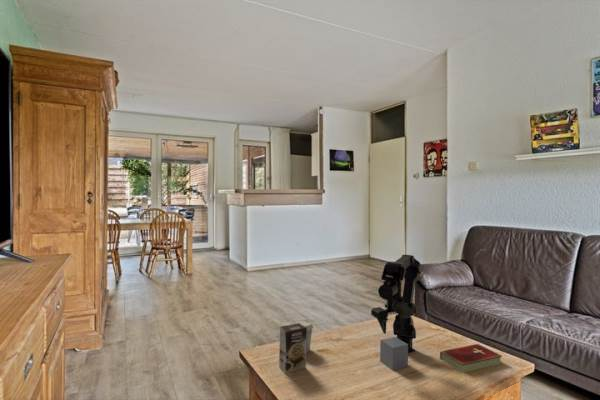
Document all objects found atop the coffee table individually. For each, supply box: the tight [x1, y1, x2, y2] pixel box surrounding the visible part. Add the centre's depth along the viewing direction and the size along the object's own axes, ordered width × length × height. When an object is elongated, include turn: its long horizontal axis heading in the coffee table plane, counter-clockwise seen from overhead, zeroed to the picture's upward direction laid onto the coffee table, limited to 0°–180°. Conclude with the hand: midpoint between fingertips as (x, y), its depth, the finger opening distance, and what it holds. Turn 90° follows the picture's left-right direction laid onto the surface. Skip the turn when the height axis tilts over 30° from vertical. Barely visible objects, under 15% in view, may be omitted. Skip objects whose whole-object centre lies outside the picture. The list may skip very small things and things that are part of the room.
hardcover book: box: [439, 343, 503, 373], centre depth 138 cm, size 12×21×4 cm, turn 111°
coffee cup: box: [294, 319, 314, 354], centre depth 147 cm, size 8×8×12 cm
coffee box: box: [278, 323, 307, 374], centre depth 132 cm, size 9×6×16 cm
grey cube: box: [379, 336, 409, 371], centre depth 136 cm, size 8×8×9 cm
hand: (393, 331), depth 136 cm, fingers open, 9 cm apart
